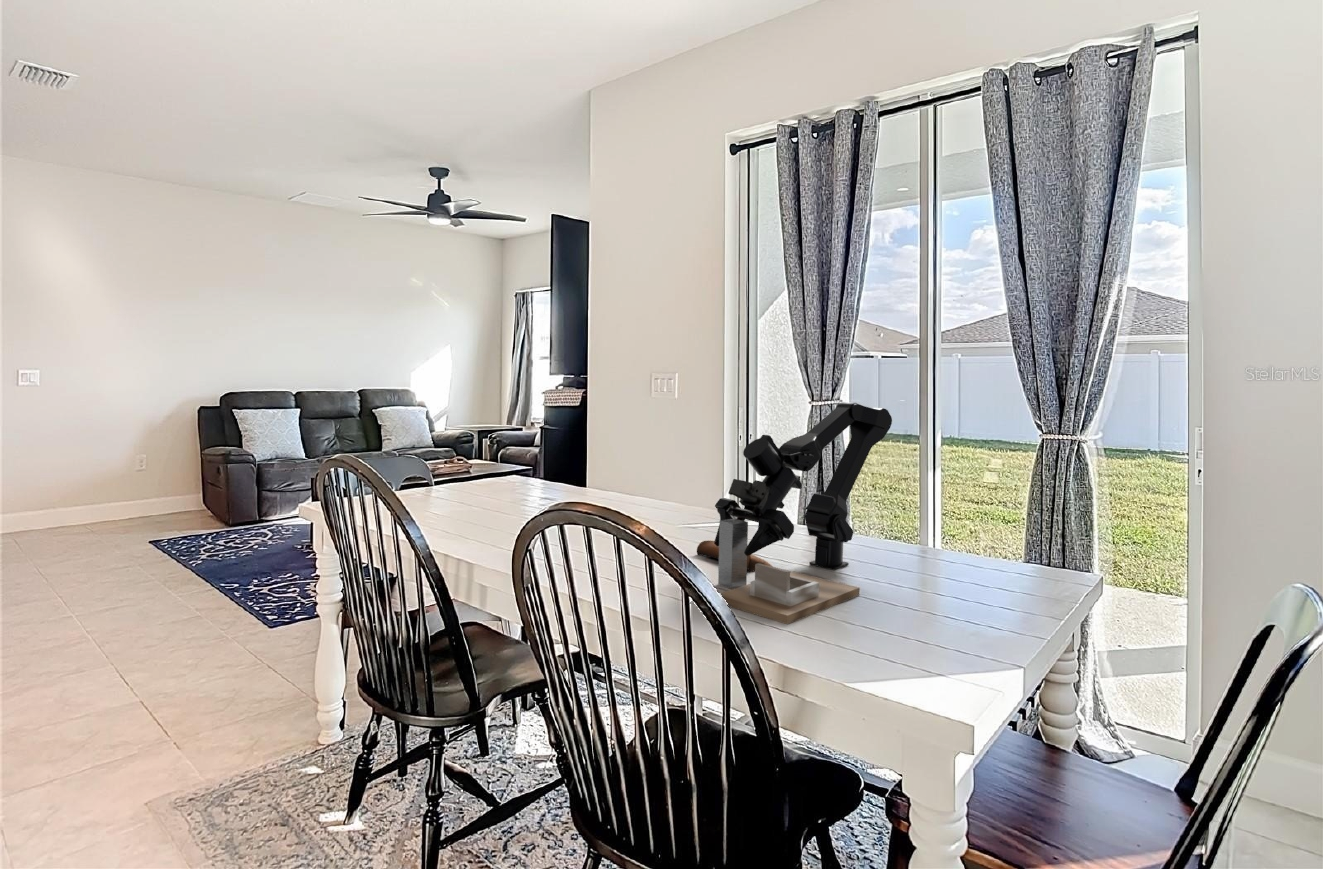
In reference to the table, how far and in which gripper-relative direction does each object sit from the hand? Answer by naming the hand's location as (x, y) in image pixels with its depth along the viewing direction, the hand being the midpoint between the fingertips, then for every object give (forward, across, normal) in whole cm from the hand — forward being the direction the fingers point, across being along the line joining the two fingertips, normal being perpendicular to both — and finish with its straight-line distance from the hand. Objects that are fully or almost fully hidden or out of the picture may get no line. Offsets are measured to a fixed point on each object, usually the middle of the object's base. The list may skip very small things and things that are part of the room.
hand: (730, 549), depth 144 cm
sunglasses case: (-4, -14, +15) cm, 21 cm away
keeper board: (+2, +13, +8) cm, 15 cm away
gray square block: (+5, 0, +6) cm, 7 cm away
